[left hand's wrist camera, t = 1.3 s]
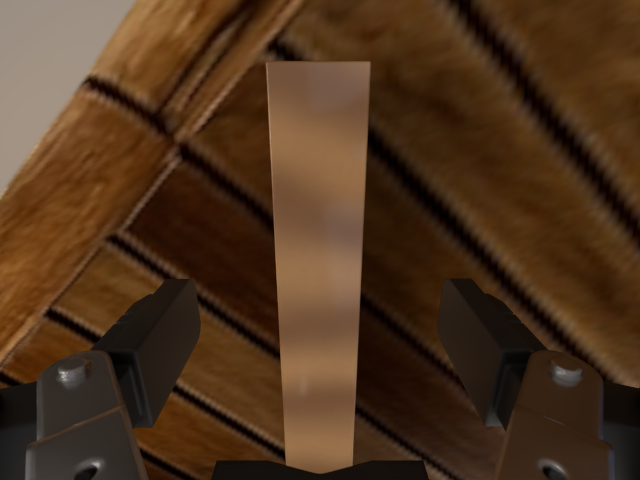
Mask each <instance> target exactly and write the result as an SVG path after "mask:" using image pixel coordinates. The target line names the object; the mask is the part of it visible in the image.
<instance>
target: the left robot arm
mask: <svg viewBox="0 0 640 480" xmlns="http://www.w3.org/2000/svg"><path fill="white" fill-rule="evenodd" d="M438 333H439V337H440V340H441V342H442V344H443V346H444V348H445V350H446V352H447V354H448V356H449V358H450V360H451V362H452V364H453V365H454V367H455V369H456V371H457V373H458V375H459V377H460V379H461V381H462V383H463V385H464V387H465V389H466V391H467V393H468V395H469V397H470V398H471V400H472V402H473V404H474V406H475V408H476V410H477V412H478V414H479V416H480V418H481V420H482V422H483V424H484V426H503V428H504V429H505V431H506V434H505V437H504V441H503V444H502V447H501V450H500V454H499V457H498V460H497V464H496V467H495V470H494V474H493V477H492V480H640V388H634V387H630V386H625V385H620V384H615V383H611V382H606V381H603V380H602V378H601V376H600V375H599V374H598V373H597V372H596V371H595V370H594V369H593V368H592V367H591V366H590V365H588V364H587V363H585V362H583V361H581V360H580V359H578V358H576V357H573V356H571V355H568V354H565V353H562V352H557V351H551V350H548V349H547V348H546V347H545V346H544V345H543V344H542V343H541V342H540V341H539V340H538V339H537V338H536V337H535V336H534V335H533V333H532V332H531V331H530V330H529V329H528V328H527V327H526V326H525V325H524V324H523V323H521V321H520V320H519V318H518V317H517V316H516V315H513V312H512V311H511V310H510V309H509V308H508V307H507V306H506V305H505V304H504V302H502V301H500V300H498V299H497V298H495V297H493V296H492V295H490V294H484V293H483V291H482V290H481V289H480V288H479V287H478V286H477V285H476V283H475V282H474V281H473V280H472V279H445V281H444V283H443V288H442V295H441V302H440V309H439V316H438ZM199 335H200V315H199V308H198V301H197V294H196V287H195V283H194V281H193V280H192V279H167V280H166V281H165V282H164V283H163V284H162V285H161V286H160V287H159V288H158V289H157V291H156V292H155V293H154V294H149V295H147V296H146V297H144V298H142V299H140V300H139V301H137V302H135V303H134V304H133V305H132V306H131V307H130V308H129V309H128V310H127V311H126V312H125V315H123V316H122V317H121V318H120V319H119V320H118V321H117V322H116V324H114V325H113V326H112V327H111V328H110V329H109V330H108V331H107V332H106V334H105V335H104V336H103V337H102V338H101V339H100V340H99V341H98V342H97V343H96V344H95V345H94V346H93V347H92V348H91V349H90V350H89V351H83V352H78V353H75V354H72V355H69V356H67V357H64V358H62V359H60V360H59V361H57V362H55V363H53V364H52V365H50V366H49V367H48V368H47V369H46V370H45V371H44V372H43V373H42V374H41V375H40V376H39V378H38V380H37V381H36V382H32V383H27V384H22V385H18V386H13V387H8V388H3V389H0V480H148V477H147V474H146V470H145V467H144V464H143V460H142V457H141V454H140V450H139V447H138V444H137V441H136V437H135V434H134V431H133V429H134V428H152V427H153V426H154V424H155V422H156V420H157V418H158V416H159V414H160V412H161V410H162V408H163V406H164V404H165V403H166V401H167V399H168V397H169V395H170V393H171V391H172V389H173V387H174V385H175V383H176V381H177V380H178V378H179V376H180V374H181V372H182V370H183V368H184V366H185V364H186V362H187V360H188V358H189V357H190V355H191V353H192V351H193V349H194V347H195V345H196V343H197V341H198V339H199ZM211 480H429V479H428V475H427V472H426V469H425V465H424V462H423V461H369V462H365V463H361V464H358V465H354V466H350V467H346V468H342V469H339V470H335V471H331V472H327V473H322V474H318V473H313V472H309V471H305V470H301V469H298V468H294V467H290V466H286V465H282V464H279V463H275V462H271V461H217V462H216V465H215V469H214V472H213V475H212V479H211Z"/></svg>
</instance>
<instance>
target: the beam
mask: <svg viewBox="0 0 640 480" xmlns="http://www.w3.org/2000/svg"><path fill="white" fill-rule="evenodd" d="M266 76H267V96H268V116H269V136H270V156H271V176H272V195H273V215H274V235H275V255H276V275H277V295H278V315H279V335H280V355H281V375H282V395H283V415H284V435H285V454H286V466H290V467H294V468H298V469H301V470H305V471H309V472H313V473H318V474H322V473H327V472H331V471H335V470H339V469H342V468H346V467H350V466H352V465H353V443H354V422H355V400H356V379H357V357H358V336H359V314H360V293H361V271H362V250H363V228H364V207H365V185H366V164H367V142H368V121H369V99H370V78H371V62H370V61H267V62H266Z"/></svg>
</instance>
